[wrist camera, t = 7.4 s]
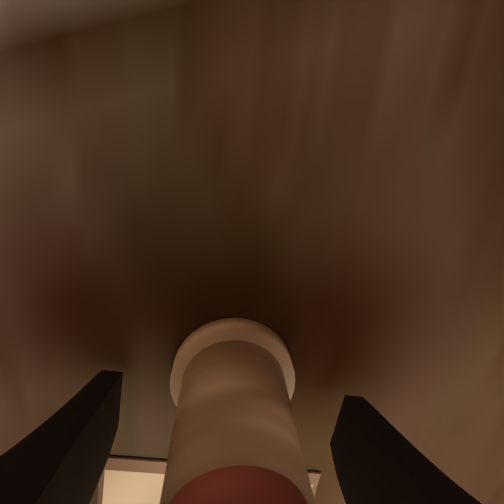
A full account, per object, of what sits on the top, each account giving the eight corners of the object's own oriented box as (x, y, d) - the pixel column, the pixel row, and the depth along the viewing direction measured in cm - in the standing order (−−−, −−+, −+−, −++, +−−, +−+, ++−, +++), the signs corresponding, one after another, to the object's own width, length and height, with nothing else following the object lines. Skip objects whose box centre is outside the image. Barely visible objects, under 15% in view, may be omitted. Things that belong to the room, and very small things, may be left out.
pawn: (302, 326, 13) (405, 577, 5) (278, 423, 14) (336, 731, 7) (180, 310, 12) (114, 564, 5) (167, 412, 14) (98, 734, 6)
